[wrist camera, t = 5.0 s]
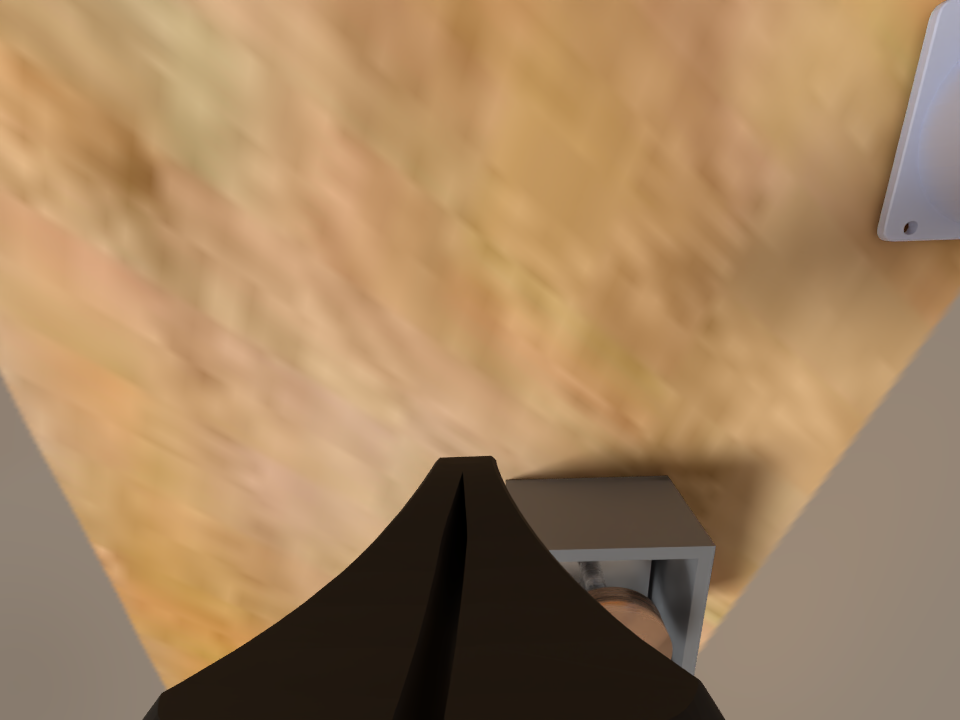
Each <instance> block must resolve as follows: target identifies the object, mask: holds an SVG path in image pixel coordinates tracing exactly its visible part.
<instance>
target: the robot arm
mask: <svg viewBox="0 0 960 720" xmlns="http://www.w3.org/2000/svg"><path fill="white" fill-rule="evenodd" d="M907 223H908V224H909V227H908V229H907V231H906V232H905V233H904V227H905V225H906V224H907ZM877 235H878V237H879V238H880V239H881V240H884V241H893V242H894V241H922V240H950V239H960V0H946V1H944V2H942V3H941V4H939V5H938V6H936V8H935V9H934V10H933V12H932V13H931V16H930V18H929V22H928V26H927V30H926V34H925V38H924V42H923V46H922V50H921V54H920V58H919V62H918V66H917V70H916V74H915V78H914V82H913V86H912V91H911V95H910V99H909V103H908V107H907V111H906V115H905V119H904V123H903V127H902V131H901V135H900V139H899V143H898V147H897V151H896V155H895V159H894V163H893V167H892V171H891V175H890V179H889V183H888V187H887V191H886V195H885V199H884V203H883V207H882V211H881V215H880V220H879V224H878V228H877ZM143 720H725V719H724V717H723V715H722V714H721V712H720V710H719V709H718V707H717V706H716V704H715V702H714V701H713V699H712V698H711V696H710V695H709V693H708V692H707V690H706V688H705V687H704V685H703V684H702V682H701V681H700V680H699V679H697V678H696V677H695V676H693V675H692V674H690V673H689V672H688V671H686V670H685V669H683V668H682V667H680V666H679V665H678V664H676V663H675V662H673V661H672V660H671V659H669V658H668V657H666V656H665V655H663V654H662V653H661V652H659V651H658V650H656V649H655V648H654V647H652V646H651V645H649V644H648V643H646V642H645V641H644V640H642V639H641V638H640V637H638V636H637V635H636V634H635V633H633V632H632V631H631V630H630V629H628V628H627V627H626V626H625V625H624V624H622V623H621V622H620V621H619V620H617V619H616V618H615V617H614V616H613V615H612V614H611V613H610V612H609V611H608V610H606V609H605V608H604V607H603V606H602V605H601V604H600V603H599V602H598V601H597V600H596V599H595V598H594V597H592V596H591V595H590V594H589V593H588V592H587V591H586V590H585V589H584V588H583V587H582V586H581V585H580V584H579V583H578V582H577V581H576V580H575V579H574V578H573V577H572V576H571V575H570V574H569V573H568V572H567V571H566V570H565V569H564V567H563V566H562V565H561V564H560V563H559V562H558V561H557V560H556V558H555V557H554V556H553V555H552V554H551V553H550V551H549V550H548V549H547V548H546V546H545V545H544V544H543V543H542V541H541V540H540V539H539V537H538V536H537V535H536V533H535V532H534V531H533V529H532V528H531V526H530V525H529V524H528V522H527V521H526V519H525V518H524V516H523V515H522V513H521V512H520V510H519V508H518V507H517V505H516V503H515V502H514V500H513V498H512V497H511V495H510V493H509V491H508V489H507V487H506V485H505V483H504V481H503V479H502V477H501V475H500V472H499V470H498V466H497V463H496V460H495V459H494V458H493V457H492V456H475V457H447V458H439V459H438V460H437V461H436V462H435V464H434V466H433V467H432V469H431V470H430V472H429V473H428V475H427V476H426V478H425V479H424V481H423V482H422V483H421V485H420V486H419V488H418V489H417V490H416V492H415V493H414V494H413V496H412V497H411V498H410V500H409V501H408V502H407V503H406V505H405V506H404V507H403V509H402V510H401V511H400V512H399V514H398V515H397V516H396V517H395V518H394V519H393V520H392V522H391V523H390V524H389V525H388V526H387V527H386V528H385V530H384V531H383V532H382V533H381V534H380V535H379V536H378V537H377V539H376V540H375V541H374V542H373V543H372V544H371V545H370V546H369V547H368V548H367V549H366V550H365V551H364V552H363V553H362V554H361V555H360V556H359V557H358V558H357V559H356V560H355V561H354V562H353V563H351V564H350V565H349V566H348V567H347V568H346V569H345V570H344V571H343V572H342V573H341V574H339V575H338V576H337V577H336V578H334V579H333V580H332V581H331V582H329V583H328V584H327V585H326V586H324V587H323V588H322V589H321V590H320V591H318V592H317V593H316V594H315V595H313V596H312V597H311V598H310V599H308V600H307V601H306V602H305V603H303V604H302V605H301V606H299V607H298V608H297V609H295V610H294V611H292V612H291V613H290V614H288V615H287V616H285V617H284V618H283V619H281V620H280V621H279V622H277V623H276V624H274V625H273V626H271V627H270V628H268V629H267V630H265V631H264V632H262V633H261V634H259V635H258V636H256V637H255V638H253V639H252V640H250V641H249V642H247V643H246V644H244V645H243V646H241V647H239V648H238V649H236V650H235V651H233V652H231V653H230V654H228V655H226V656H225V657H223V658H221V659H220V660H218V661H216V662H215V663H213V664H211V665H209V666H208V667H206V668H204V669H203V670H201V671H199V672H198V673H196V674H194V675H193V676H191V677H189V678H188V679H186V680H184V681H183V682H181V683H179V684H177V685H176V686H174V687H172V688H170V689H168V690H167V691H165V692H163V693H162V694H161V695H160V696H159V698H158V699H157V701H156V702H155V703H154V705H153V706H152V707H151V709H150V710H149V711H148V713H147V714H146V716H145V717H144V718H143Z"/></svg>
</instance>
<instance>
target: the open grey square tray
mask: <svg viewBox="0 0 960 720" xmlns="http://www.w3.org/2000/svg"><path fill="white" fill-rule="evenodd" d="M506 487H507V489H508V491H509V493H510V495H511V497H512V498H513V500H514V502H515V503H516V505H517V507H518V508H519V510H520V512H521V513H522V515H523V516H524V518H525V519H526V521H527V522H528V524H529V525H530V526H531V528H532V529H533V531H534V532H535V533H536V535H537V536H538V537H539V539H540V540H541V541H542V543H543V544H544V545H545V546H546V548H547V549H548V550H549V551H550V553H551V554H552V555H553V556H554V557H555V558H556V560H557V561H558V562H579V561H620V560H652V561H651V570H650V579H649V587H648V596H647V598H649V599H650V600H651V601H652V602H653V603H654V604H655V606H656V607H657V609H658V611H659V613H660V615H661V618H662V620H663V622H664V625H665V627H666V629H667V632H668V634H669V636H670V639H671V642H672V648H673V650H672V657H671V660H672V661H673V662H675V663H676V664H678V665H679V666H680V667H682V668H683V669H685V670H686V671H688V672H689V673H690V674H692V675H693V676H694V672H695V666H696V661H697V655H698V649H699V643H700V637H701V631H702V625H703V619H704V613H705V607H706V601H707V595H708V589H709V584H710V578H711V572H712V566H713V560H714V554H715V548H716V546H715V544H714V543H713V541H712V540H711V538H710V537H709V535H708V534H707V532H706V531H705V529H704V528H703V527H702V525H701V524H700V522H699V521H698V519H697V518H696V516H695V515H694V513H693V512H692V510H691V509H690V508H689V506H688V505H687V503H686V502H685V500H684V499H683V497H682V496H681V494H680V493H679V491H678V490H677V489H676V487H675V486H674V484H673V483H672V481H671V480H670V478H669V477H668V476H637V477H600V478H563V479H526V480H506Z"/></svg>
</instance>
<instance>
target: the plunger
mask: <svg viewBox="0 0 960 720" xmlns="http://www.w3.org/2000/svg"><path fill="white" fill-rule="evenodd" d="M651 561H652V560H620V561H579V562H559V563H560V564H561V565H562V566H563V567H564V569H565V570H566V571H567V572H568V573H569V574H570V575H571V576H572V577H573V578H574V579H575V580H576V581H577V582H578V583H579V584H580V585H581V586H582V587H583V588H584V589H585V590H586V591H587V592H588V593H589V594H590V595H591V596H592V597H594V598H595V599H596V600H597V601H598V602H599V603H600V604H601V605H602V606H603V607H604V608H605V609H606V610H608V611H609V612H610V613H611V614H612V615H613V616H614V617H615V618H616V619H617V620H619V621H620V622H621V623H622V624H624V625H625V626H626V627H627V628H628V629H630V630H631V631H632V632H633V633H635V634H636V635H637V636H638V637H640V638H641V639H642V640H644V641H645V642H646V643H648V644H649V645H651V646H652V647H654V648H655V649H656V650H658V651H659V652H661V653H662V654H663V655H665V656H666V657H668V658H669V659H671V657H672V650H673V648H672V642H671V639H670V636H669V634H668V632H667V629H666V627H665V625H664V622H663V620H662V618H661V615H660V613H659V611H658V609H657V607H656V606H655V604H654V603H653V602H652V601H651V600H650V599H649V598H647V596H648V587H649V579H650V570H651Z"/></svg>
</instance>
